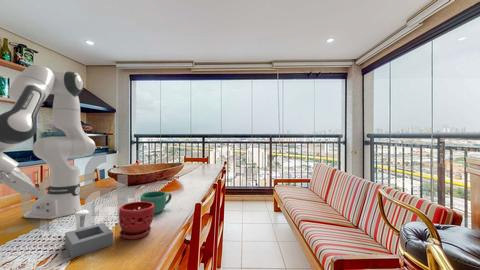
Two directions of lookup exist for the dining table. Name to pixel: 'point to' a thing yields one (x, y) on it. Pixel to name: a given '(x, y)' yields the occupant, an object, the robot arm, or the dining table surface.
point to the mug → (156, 199)
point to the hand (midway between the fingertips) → (40, 194)
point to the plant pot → (135, 219)
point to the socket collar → (88, 239)
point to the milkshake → (81, 218)
